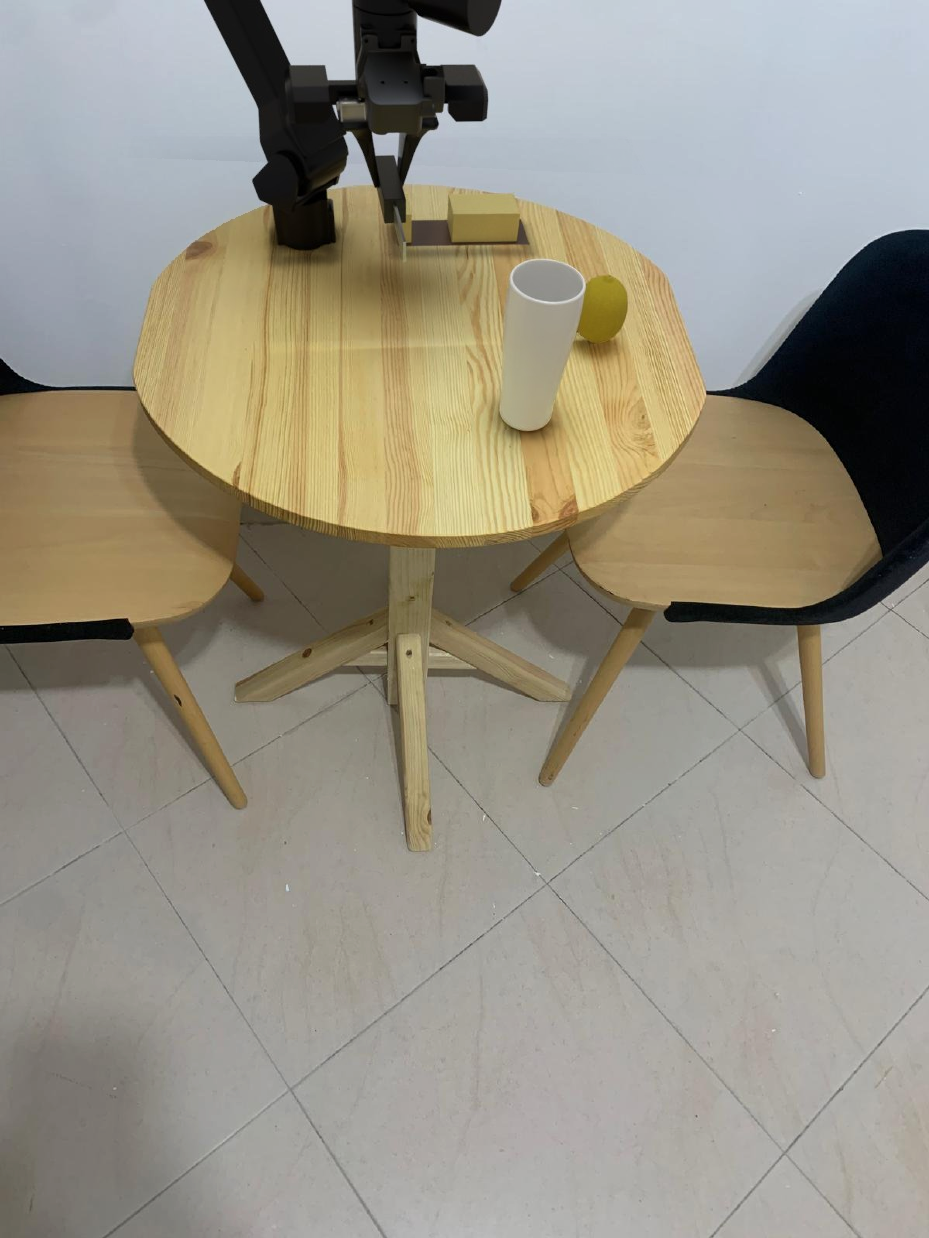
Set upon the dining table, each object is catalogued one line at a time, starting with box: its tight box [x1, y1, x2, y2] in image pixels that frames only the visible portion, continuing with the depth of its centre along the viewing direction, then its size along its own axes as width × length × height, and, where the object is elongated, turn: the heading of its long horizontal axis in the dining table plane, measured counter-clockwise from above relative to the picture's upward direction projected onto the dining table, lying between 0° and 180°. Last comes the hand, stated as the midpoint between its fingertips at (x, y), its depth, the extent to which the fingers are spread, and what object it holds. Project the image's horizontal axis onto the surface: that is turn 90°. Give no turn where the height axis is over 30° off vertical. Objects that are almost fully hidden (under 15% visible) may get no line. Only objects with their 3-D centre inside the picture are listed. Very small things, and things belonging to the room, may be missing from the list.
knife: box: [375, 154, 407, 263], centre depth 77 cm, size 2×16×2 cm, turn 10°
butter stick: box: [446, 192, 521, 242], centre depth 93 cm, size 8×4×4 cm, turn 98°
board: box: [396, 218, 530, 247], centre depth 95 cm, size 16×6×1 cm, turn 98°
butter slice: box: [401, 193, 413, 243], centre depth 92 cm, size 2×4×4 cm, turn 9°
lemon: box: [577, 274, 629, 344], centre depth 82 cm, size 6×6×8 cm
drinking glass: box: [498, 258, 587, 432], centre depth 72 cm, size 7×7×15 cm
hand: (388, 185), depth 80 cm, fingers closed on knife, 2 cm apart
